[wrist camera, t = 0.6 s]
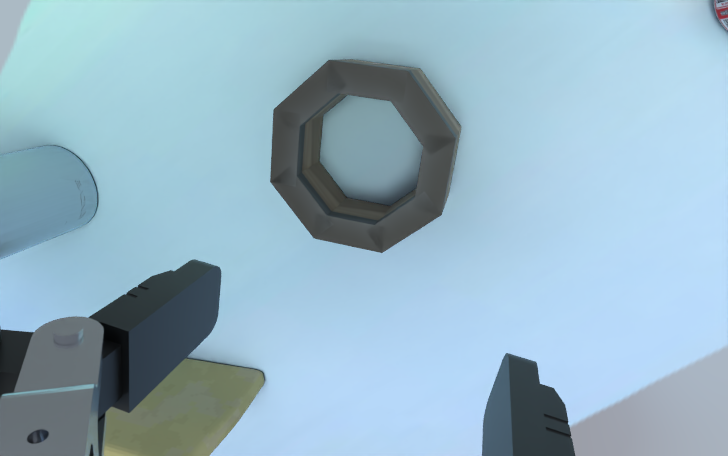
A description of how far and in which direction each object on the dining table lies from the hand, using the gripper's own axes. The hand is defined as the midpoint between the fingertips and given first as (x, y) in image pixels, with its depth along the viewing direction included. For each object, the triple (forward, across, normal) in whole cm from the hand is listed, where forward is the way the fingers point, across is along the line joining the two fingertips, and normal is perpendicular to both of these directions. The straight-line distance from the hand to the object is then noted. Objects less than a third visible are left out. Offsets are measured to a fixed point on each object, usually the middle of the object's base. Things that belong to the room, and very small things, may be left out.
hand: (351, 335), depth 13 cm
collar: (+30, -6, -2) cm, 31 cm away
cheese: (+30, -24, -34) cm, 51 cm away
